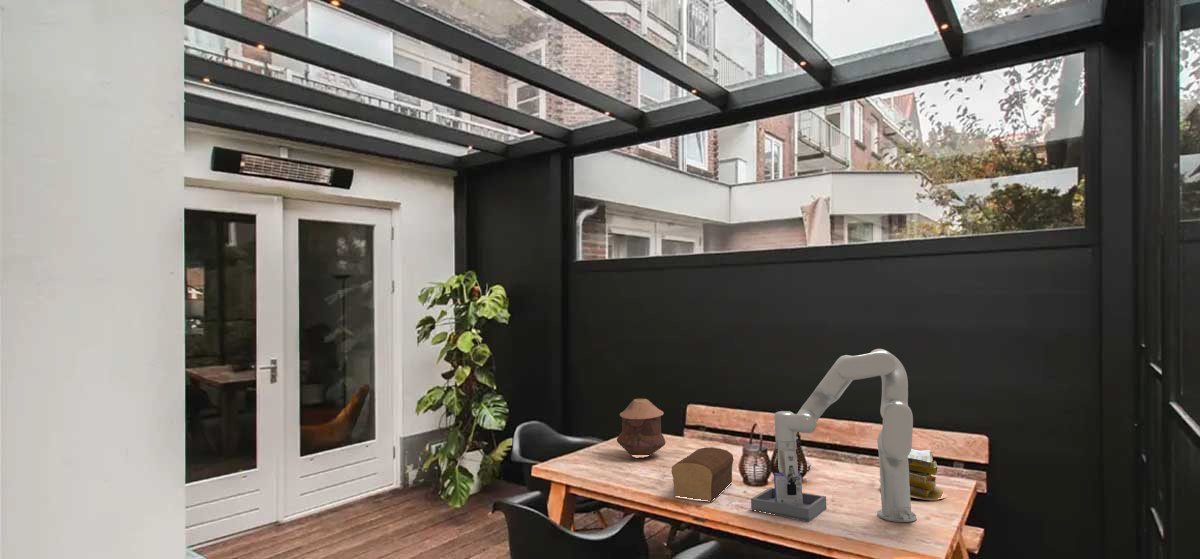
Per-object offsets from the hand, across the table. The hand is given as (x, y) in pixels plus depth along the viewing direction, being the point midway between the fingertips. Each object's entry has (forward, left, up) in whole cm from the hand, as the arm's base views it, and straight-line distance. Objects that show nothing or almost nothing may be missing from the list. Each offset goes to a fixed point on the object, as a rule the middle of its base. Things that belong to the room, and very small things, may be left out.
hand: (788, 491), depth 233 cm
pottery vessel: (+93, +48, -7) cm, 105 cm away
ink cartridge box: (0, 0, -6) cm, 6 cm away
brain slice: (+58, -20, -7) cm, 62 cm away
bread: (+28, +27, -7) cm, 39 cm away
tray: (0, 0, -7) cm, 7 cm away
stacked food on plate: (+16, -56, -7) cm, 59 cm away
